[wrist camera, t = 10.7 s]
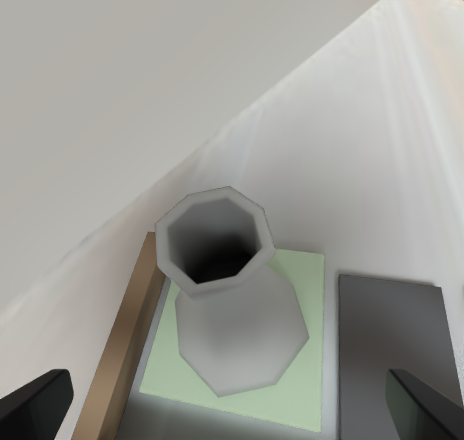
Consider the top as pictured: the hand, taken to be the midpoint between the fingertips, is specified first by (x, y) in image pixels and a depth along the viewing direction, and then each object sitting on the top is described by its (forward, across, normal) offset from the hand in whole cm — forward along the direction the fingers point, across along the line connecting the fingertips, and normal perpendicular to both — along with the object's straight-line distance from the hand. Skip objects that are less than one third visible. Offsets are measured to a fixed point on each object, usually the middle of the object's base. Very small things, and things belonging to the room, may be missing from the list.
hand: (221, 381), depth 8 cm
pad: (+8, 0, +3) cm, 9 cm away
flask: (+8, 0, +3) cm, 8 cm away
